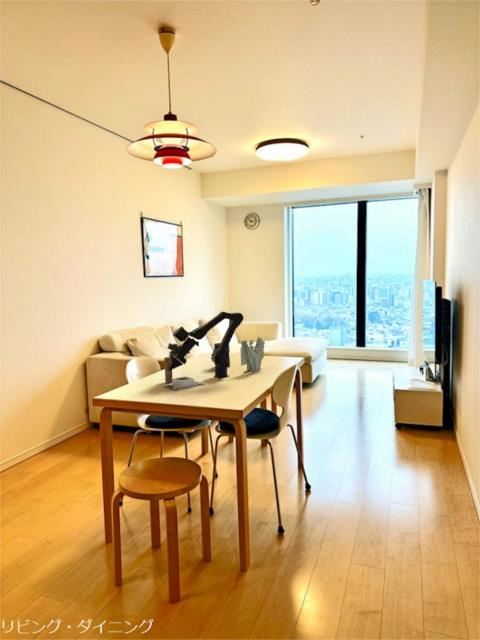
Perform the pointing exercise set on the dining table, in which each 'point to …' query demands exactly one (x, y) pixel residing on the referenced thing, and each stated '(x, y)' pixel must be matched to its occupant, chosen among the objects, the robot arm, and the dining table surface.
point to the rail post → (168, 373)
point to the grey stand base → (182, 383)
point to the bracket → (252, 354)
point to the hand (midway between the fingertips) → (167, 368)
